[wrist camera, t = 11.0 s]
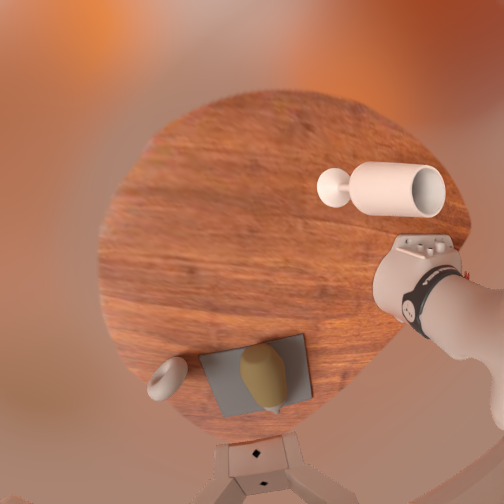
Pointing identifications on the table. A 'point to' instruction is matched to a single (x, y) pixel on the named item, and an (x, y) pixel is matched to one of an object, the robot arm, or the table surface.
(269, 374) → the squeeze bottle
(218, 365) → the mat
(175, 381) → the donut
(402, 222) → the table surface
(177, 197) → the table surface
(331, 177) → the champagne flute
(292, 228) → the table surface
